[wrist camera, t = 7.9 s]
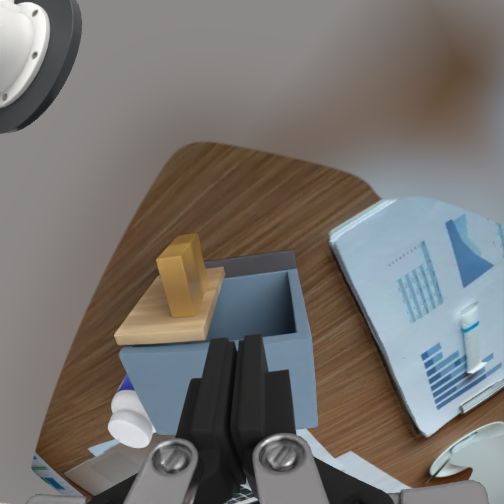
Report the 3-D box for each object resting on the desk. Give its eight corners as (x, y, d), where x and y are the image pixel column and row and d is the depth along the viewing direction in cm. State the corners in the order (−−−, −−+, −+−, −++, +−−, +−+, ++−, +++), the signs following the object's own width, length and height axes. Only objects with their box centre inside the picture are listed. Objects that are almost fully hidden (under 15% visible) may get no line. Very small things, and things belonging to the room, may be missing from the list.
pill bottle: (184, 359, 32) (160, 428, 23) (176, 393, 33) (155, 459, 24) (135, 343, 31) (99, 406, 22) (131, 378, 33) (101, 439, 24)
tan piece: (146, 232, 27) (91, 277, 17) (214, 220, 26) (185, 264, 17) (160, 283, 28) (117, 345, 19) (225, 275, 28) (205, 340, 18)
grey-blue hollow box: (159, 267, 28) (109, 333, 18) (293, 248, 27) (309, 313, 17) (185, 353, 31) (157, 434, 21) (304, 341, 30) (318, 427, 20)
